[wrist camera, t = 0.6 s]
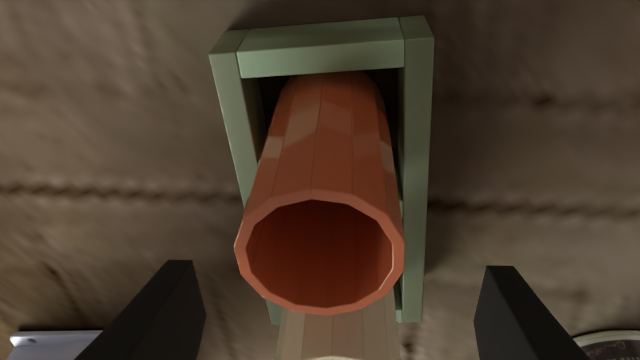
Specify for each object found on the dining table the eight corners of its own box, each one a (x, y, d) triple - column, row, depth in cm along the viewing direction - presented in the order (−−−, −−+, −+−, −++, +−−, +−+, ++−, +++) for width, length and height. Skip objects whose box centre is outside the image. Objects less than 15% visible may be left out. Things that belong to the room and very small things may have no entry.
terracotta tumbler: (284, 162, 22) (251, 317, 15) (268, 63, 19) (218, 192, 12) (385, 157, 22) (404, 314, 14) (384, 55, 19) (405, 184, 11)
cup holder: (277, 286, 27) (270, 325, 25) (224, 30, 19) (207, 53, 16) (416, 283, 26) (421, 322, 24) (424, 14, 18) (435, 36, 16)
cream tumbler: (301, 266, 26) (281, 431, 18) (290, 196, 23) (261, 356, 16) (387, 264, 25) (402, 432, 18) (386, 192, 23) (403, 355, 15)
